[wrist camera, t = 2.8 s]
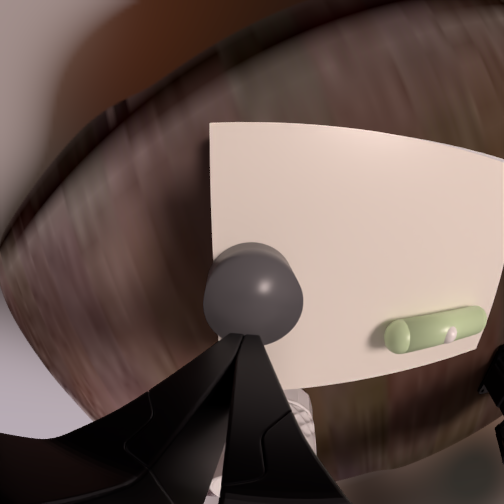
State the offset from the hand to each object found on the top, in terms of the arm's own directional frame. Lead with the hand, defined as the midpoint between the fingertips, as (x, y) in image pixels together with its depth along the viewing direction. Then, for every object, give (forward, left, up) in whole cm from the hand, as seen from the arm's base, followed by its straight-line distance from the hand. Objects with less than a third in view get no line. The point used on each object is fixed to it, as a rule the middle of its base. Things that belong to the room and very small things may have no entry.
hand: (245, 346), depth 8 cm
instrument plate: (-7, 0, -7) cm, 10 cm away
